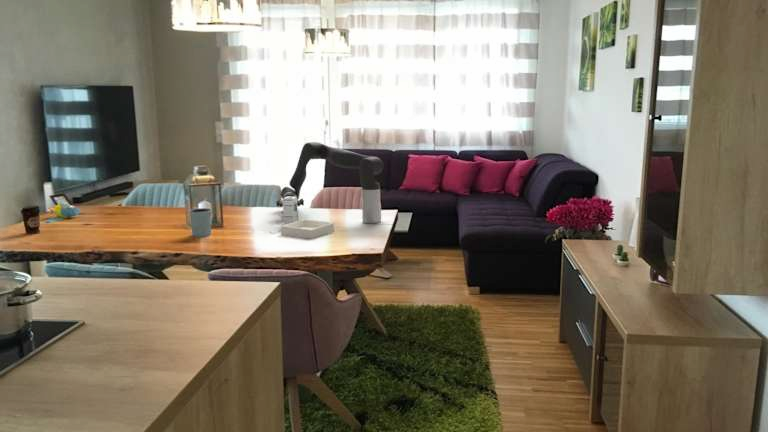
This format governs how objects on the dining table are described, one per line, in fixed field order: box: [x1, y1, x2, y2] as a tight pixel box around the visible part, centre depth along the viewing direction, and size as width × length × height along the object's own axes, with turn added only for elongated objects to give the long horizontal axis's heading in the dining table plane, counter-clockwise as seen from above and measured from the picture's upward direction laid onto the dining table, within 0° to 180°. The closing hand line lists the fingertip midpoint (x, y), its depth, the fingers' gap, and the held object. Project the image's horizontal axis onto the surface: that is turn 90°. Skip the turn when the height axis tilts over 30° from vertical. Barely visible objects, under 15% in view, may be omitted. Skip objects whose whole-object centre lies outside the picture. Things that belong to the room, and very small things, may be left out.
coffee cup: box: [20, 205, 41, 235], centre depth 314 cm, size 9×8×13 cm
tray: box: [280, 218, 335, 239], centre depth 309 cm, size 18×18×4 cm
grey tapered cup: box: [188, 207, 212, 238], centre depth 306 cm, size 10×10×12 cm
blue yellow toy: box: [41, 202, 83, 224], centre depth 352 cm, size 28×9×15 cm
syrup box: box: [281, 196, 299, 225], centre depth 324 cm, size 6×6×14 cm
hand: (290, 204), depth 335 cm, fingers open, 8 cm apart
